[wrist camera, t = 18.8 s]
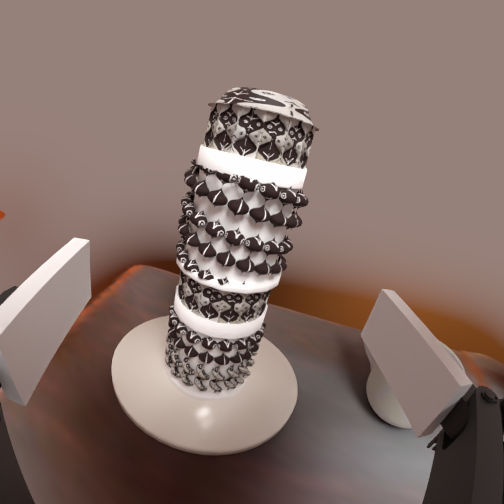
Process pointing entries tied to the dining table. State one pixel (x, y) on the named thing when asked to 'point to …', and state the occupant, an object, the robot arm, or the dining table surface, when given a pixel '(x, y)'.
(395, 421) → the teacup
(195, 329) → the decorative candle
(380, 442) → the dining table surface
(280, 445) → the dining table surface
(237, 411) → the candle plate
